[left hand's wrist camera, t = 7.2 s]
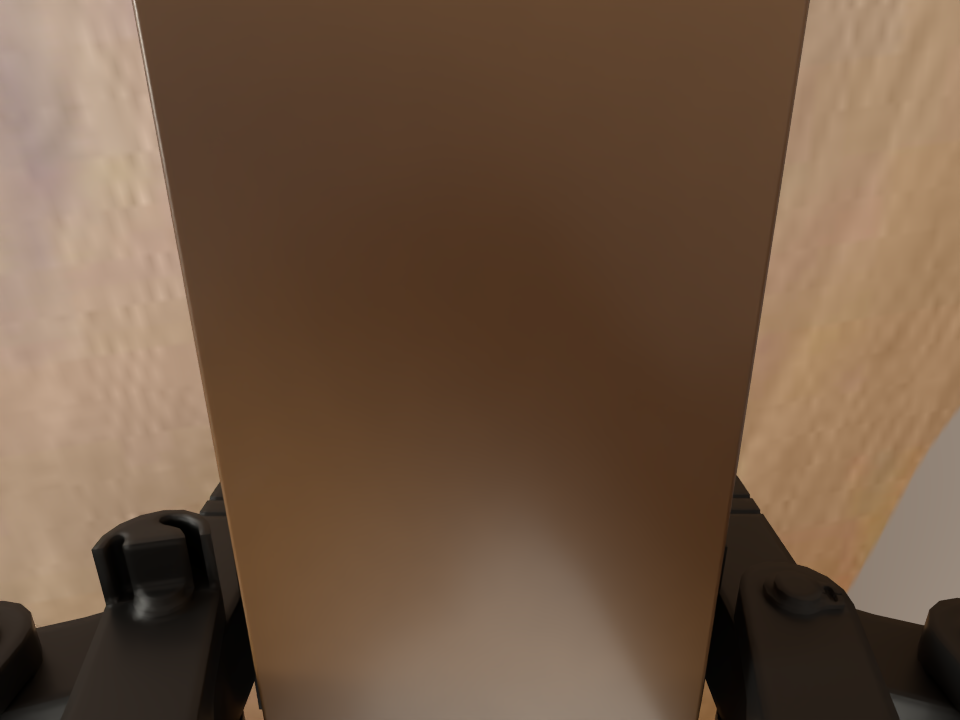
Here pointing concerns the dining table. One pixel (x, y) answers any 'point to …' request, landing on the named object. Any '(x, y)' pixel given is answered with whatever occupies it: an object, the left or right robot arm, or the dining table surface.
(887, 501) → the dining table surface
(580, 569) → the post
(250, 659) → the left robot arm
